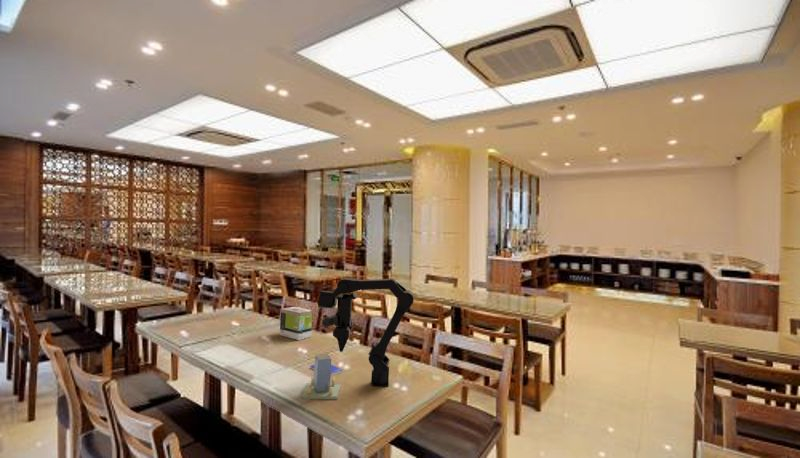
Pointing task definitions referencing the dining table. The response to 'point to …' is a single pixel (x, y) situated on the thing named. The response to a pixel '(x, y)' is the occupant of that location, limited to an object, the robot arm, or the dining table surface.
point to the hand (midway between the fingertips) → (342, 347)
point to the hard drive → (333, 369)
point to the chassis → (311, 394)
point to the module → (322, 373)
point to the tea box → (296, 323)
